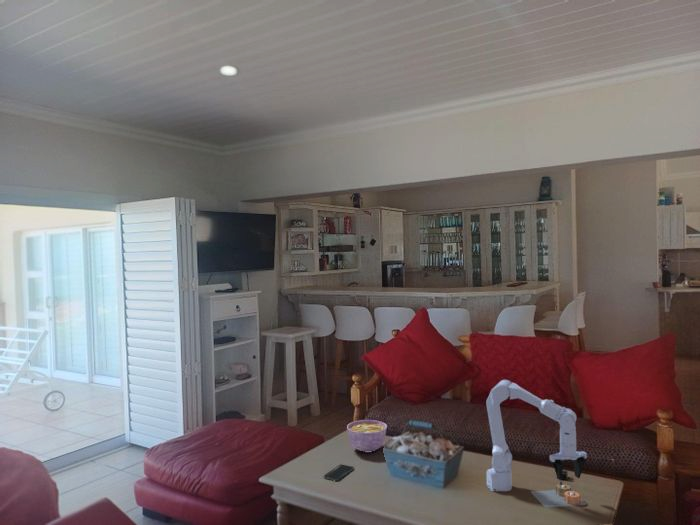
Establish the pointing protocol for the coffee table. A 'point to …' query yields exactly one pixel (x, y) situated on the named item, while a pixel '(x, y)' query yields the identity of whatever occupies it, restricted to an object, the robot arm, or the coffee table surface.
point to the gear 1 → (562, 489)
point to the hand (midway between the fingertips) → (568, 478)
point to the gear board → (553, 498)
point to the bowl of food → (367, 434)
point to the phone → (338, 472)
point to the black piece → (564, 475)
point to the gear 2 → (572, 497)
